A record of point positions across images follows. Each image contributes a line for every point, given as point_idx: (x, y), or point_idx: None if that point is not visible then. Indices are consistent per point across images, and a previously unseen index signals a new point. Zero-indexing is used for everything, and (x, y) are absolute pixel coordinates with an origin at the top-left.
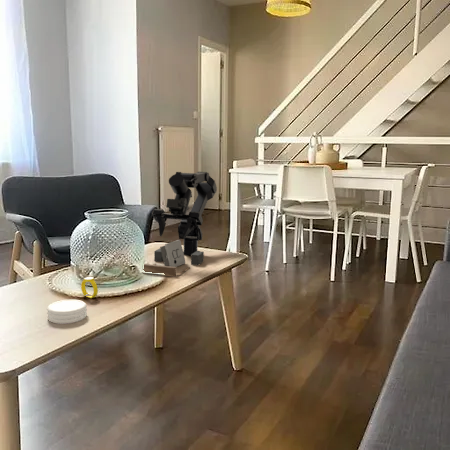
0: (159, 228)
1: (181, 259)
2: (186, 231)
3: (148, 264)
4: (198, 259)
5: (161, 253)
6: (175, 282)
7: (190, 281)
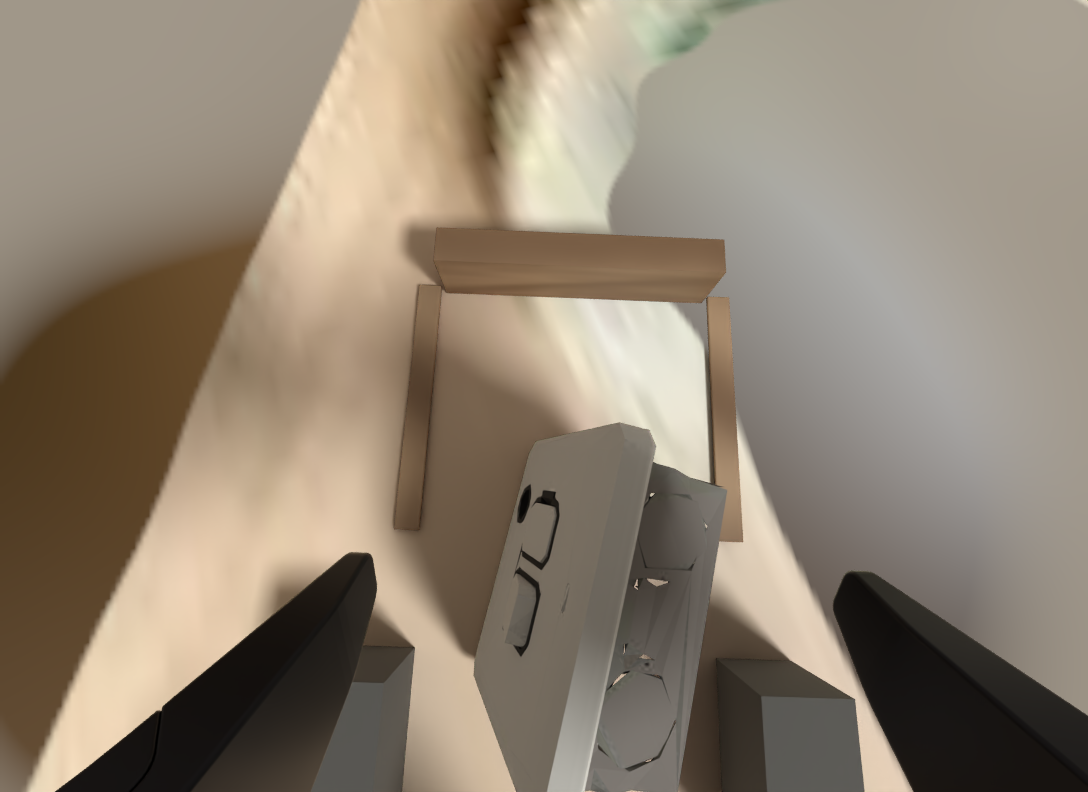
0: (1035, 686)
1: (493, 616)
2: (241, 642)
3: (685, 264)
4: None
5: (754, 687)
6: (404, 152)
7: (311, 196)
